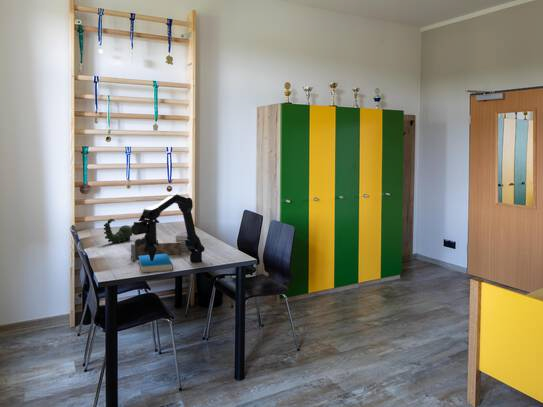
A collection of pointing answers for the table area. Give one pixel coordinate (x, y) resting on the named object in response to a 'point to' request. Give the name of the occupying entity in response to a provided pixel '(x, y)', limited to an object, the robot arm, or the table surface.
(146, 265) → the book
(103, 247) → the table surface
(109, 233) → the toy figurine
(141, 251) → the shelf wall
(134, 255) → the bookend
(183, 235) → the can
